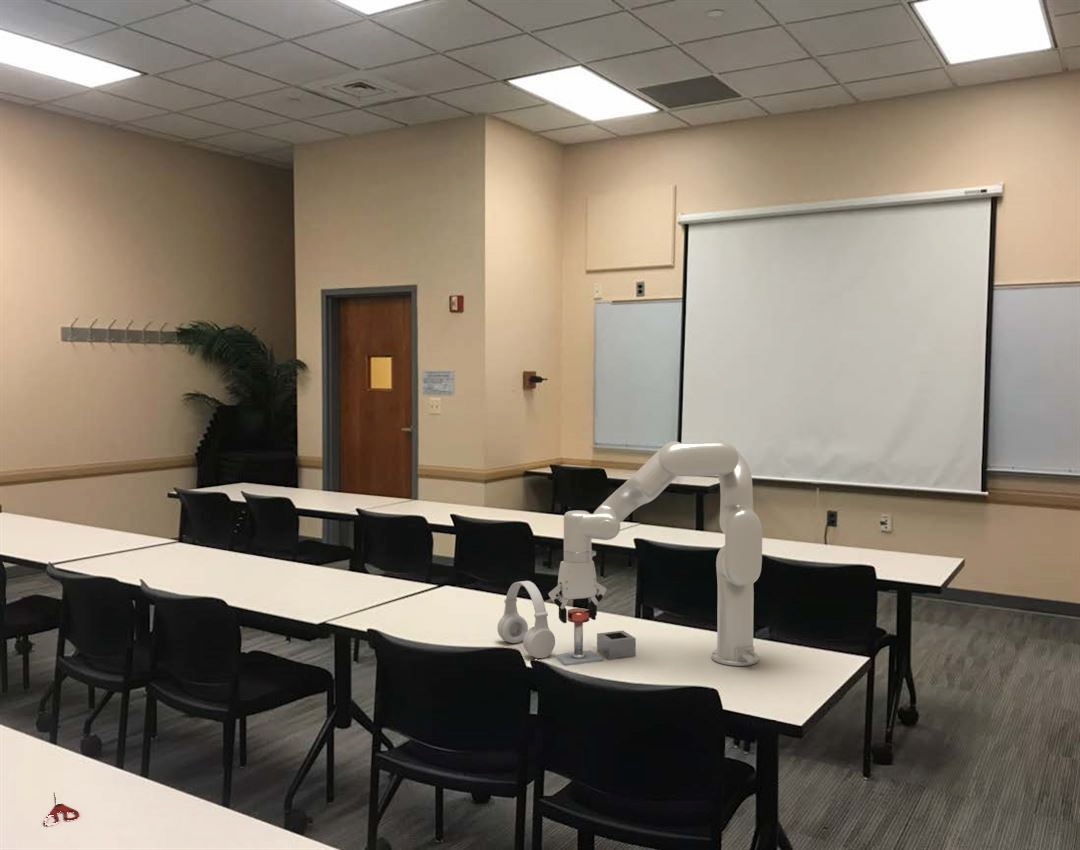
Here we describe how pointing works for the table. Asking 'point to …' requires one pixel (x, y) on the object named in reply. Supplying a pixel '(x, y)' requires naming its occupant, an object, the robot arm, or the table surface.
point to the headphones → (516, 628)
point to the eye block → (616, 645)
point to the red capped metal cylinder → (578, 629)
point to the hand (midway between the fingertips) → (577, 620)
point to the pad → (568, 659)
